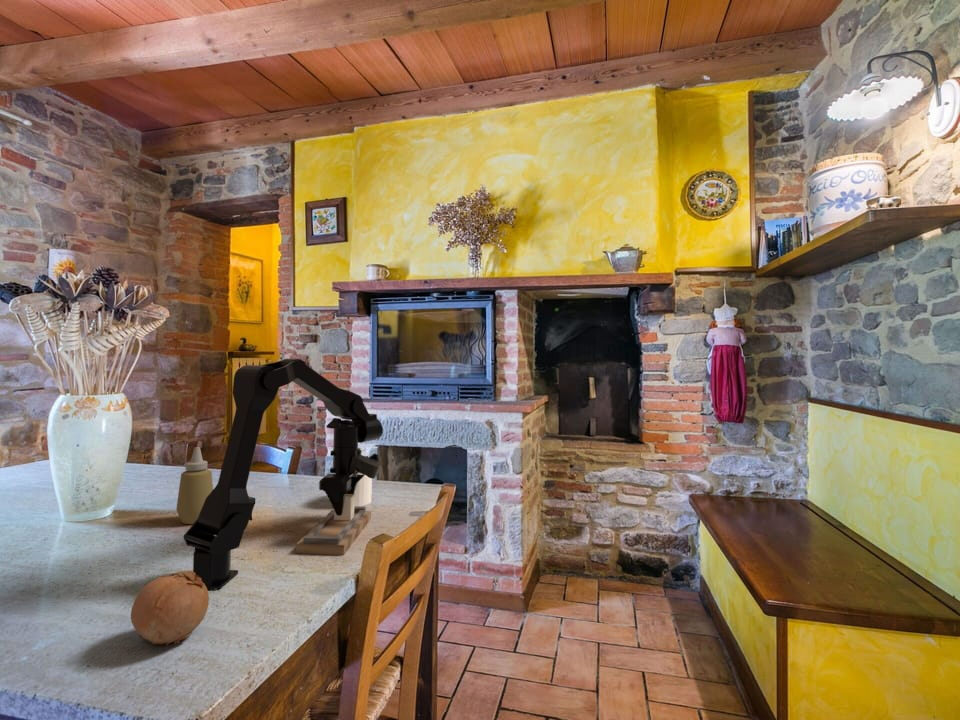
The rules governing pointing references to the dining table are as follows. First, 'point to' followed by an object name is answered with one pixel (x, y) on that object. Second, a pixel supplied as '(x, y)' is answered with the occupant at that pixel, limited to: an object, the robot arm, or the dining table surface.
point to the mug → (363, 492)
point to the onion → (170, 607)
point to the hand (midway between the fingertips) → (344, 510)
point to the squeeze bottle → (194, 488)
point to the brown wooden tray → (334, 534)
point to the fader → (347, 508)
